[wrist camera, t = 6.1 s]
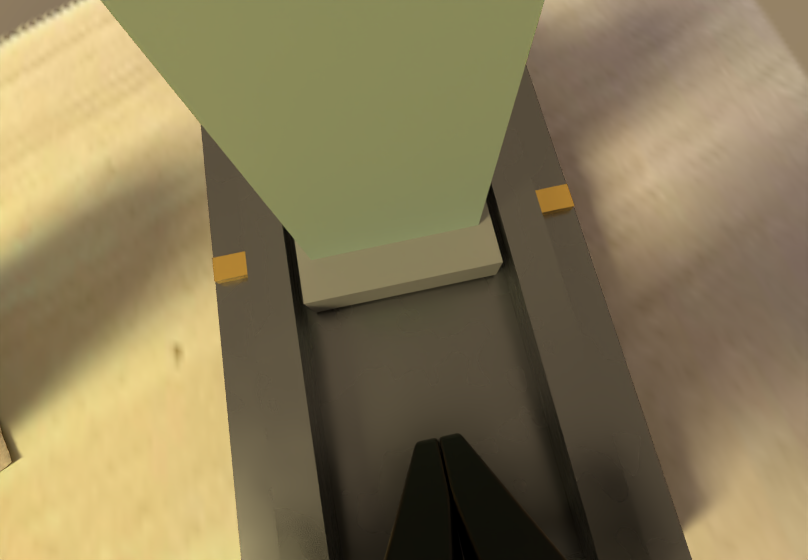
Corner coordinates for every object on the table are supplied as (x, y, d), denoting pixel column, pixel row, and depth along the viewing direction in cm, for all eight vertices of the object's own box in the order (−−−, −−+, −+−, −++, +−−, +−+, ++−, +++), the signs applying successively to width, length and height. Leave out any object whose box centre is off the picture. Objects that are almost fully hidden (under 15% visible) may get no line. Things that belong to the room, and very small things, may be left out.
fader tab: (496, 274, 14) (735, -167, 3) (314, 312, 14) (-77, -1, 3) (459, 137, 15) (537, -503, 4) (293, 171, 15) (-34, -392, 4)
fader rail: (660, 554, 14) (752, 614, 10) (276, 637, 14) (217, 730, 10) (506, 73, 19) (528, -13, 15) (222, 132, 18) (168, 61, 15)
